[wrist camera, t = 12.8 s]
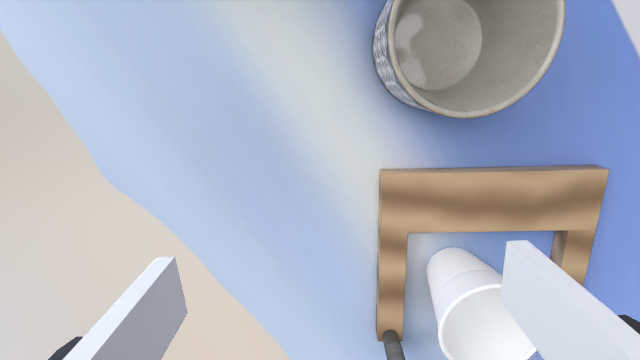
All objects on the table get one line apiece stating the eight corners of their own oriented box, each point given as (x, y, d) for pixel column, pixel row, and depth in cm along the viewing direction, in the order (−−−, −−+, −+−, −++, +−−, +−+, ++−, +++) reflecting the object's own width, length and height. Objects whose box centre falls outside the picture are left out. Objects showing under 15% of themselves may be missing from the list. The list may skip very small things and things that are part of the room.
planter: (345, 38, 34) (352, 19, 24) (448, -55, 31) (504, -120, 21) (417, 132, 37) (452, 151, 27) (518, 52, 34) (598, 40, 24)
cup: (399, 292, 42) (423, 362, 32) (425, 222, 39) (461, 274, 29) (473, 309, 43) (521, 383, 32) (503, 241, 40) (566, 298, 29)
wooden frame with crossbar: (380, 169, 38) (393, 191, 30) (594, 165, 37) (664, 186, 29) (375, 331, 44) (386, 383, 36) (559, 329, 43) (610, 382, 36)
